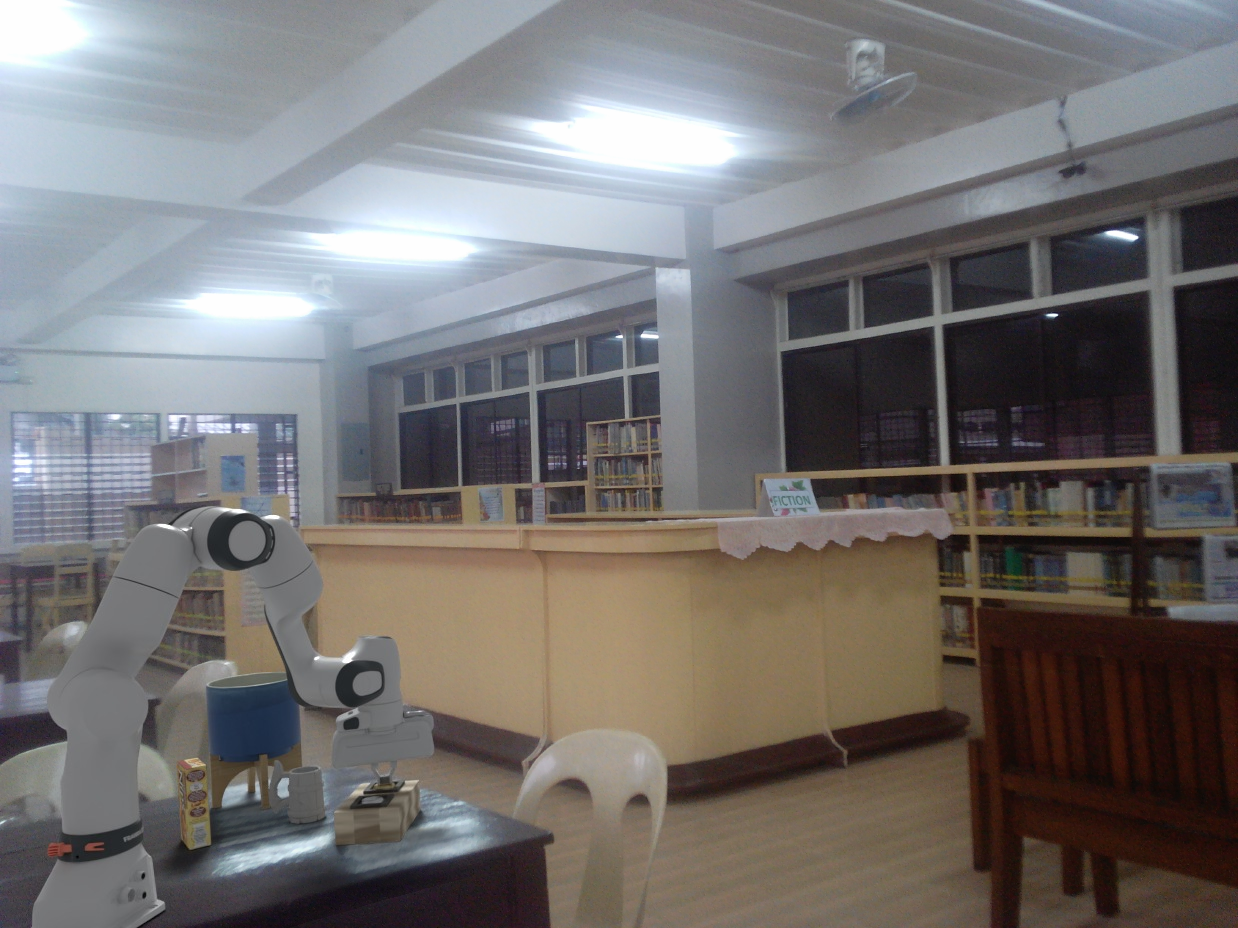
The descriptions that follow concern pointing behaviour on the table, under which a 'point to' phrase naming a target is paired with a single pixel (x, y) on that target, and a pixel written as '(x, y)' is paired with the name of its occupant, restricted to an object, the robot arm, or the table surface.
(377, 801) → the peg
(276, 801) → the mug
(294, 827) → the table surface
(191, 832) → the candy box
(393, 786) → the peg
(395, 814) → the socket block
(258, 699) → the planter
